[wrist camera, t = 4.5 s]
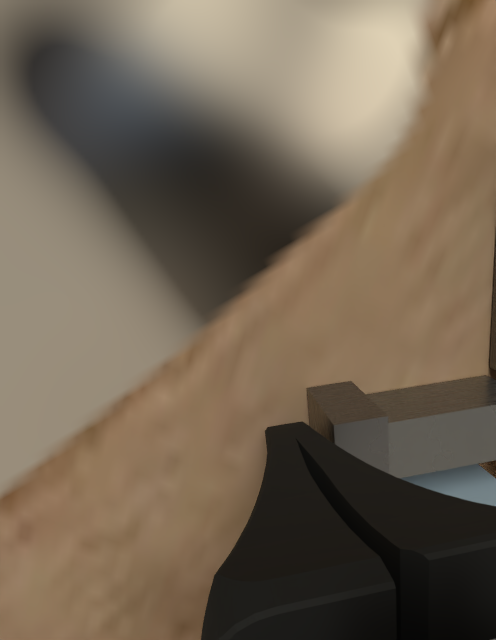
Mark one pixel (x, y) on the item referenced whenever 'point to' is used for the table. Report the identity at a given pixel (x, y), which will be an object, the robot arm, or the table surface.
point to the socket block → (493, 325)
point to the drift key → (410, 424)
